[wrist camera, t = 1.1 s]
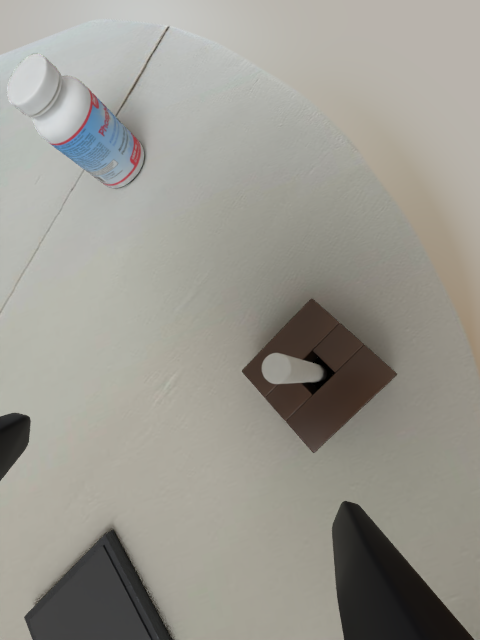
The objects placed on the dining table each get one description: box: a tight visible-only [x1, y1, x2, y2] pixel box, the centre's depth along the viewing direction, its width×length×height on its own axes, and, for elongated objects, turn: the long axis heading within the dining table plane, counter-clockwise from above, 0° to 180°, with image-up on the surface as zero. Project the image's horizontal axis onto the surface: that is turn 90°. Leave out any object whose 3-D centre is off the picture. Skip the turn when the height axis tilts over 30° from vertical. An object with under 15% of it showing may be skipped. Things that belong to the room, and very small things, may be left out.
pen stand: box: [242, 299, 397, 453], centre depth 22 cm, size 7×7×4 cm
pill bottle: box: [7, 53, 144, 188], centre depth 31 cm, size 6×6×11 cm
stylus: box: [262, 353, 327, 384], centre depth 18 cm, size 1×1×13 cm
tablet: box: [24, 530, 171, 640], centre depth 27 cm, size 10×12×1 cm
